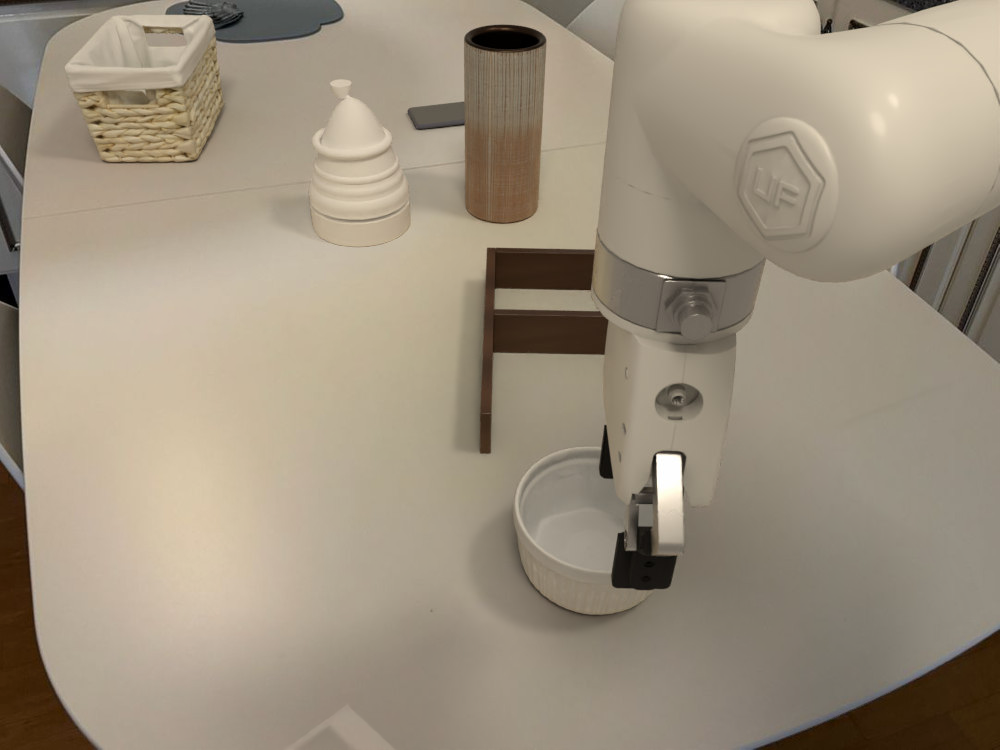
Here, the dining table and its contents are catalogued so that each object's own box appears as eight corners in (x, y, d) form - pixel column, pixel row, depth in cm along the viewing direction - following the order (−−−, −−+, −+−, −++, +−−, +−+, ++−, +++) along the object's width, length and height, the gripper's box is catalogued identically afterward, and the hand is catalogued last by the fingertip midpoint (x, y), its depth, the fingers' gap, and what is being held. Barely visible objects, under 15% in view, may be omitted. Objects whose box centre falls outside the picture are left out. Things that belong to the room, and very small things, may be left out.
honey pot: (294, 218, 114) (274, 84, 102) (374, 190, 120) (364, 61, 109) (347, 257, 106) (332, 118, 95) (430, 225, 113) (425, 91, 101)
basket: (201, 167, 125) (179, 66, 116) (87, 168, 124) (56, 66, 115) (232, 104, 143) (215, 13, 134) (134, 104, 143) (110, 12, 133)
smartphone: (406, 107, 141) (493, 97, 145) (407, 113, 142) (493, 103, 145) (416, 125, 136) (506, 114, 139) (417, 131, 136) (506, 120, 140)
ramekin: (702, 557, 71) (717, 500, 66) (609, 663, 63) (619, 606, 59) (575, 479, 77) (581, 422, 73) (477, 566, 70) (477, 508, 65)
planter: (551, 215, 116) (561, 43, 101) (484, 230, 112) (485, 55, 98) (517, 184, 123) (523, 19, 108) (453, 197, 119) (450, 29, 105)
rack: (682, 457, 80) (691, 417, 77) (479, 453, 80) (480, 413, 77) (644, 286, 102) (650, 250, 99) (486, 283, 102) (486, 247, 99)
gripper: (809, 395, 32) (724, 659, 43) (721, 184, 46) (673, 427, 57) (610, 391, 32) (576, 657, 43) (581, 181, 46) (560, 425, 57)
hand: (631, 525), depth 50 cm, fingers open, 7 cm apart
